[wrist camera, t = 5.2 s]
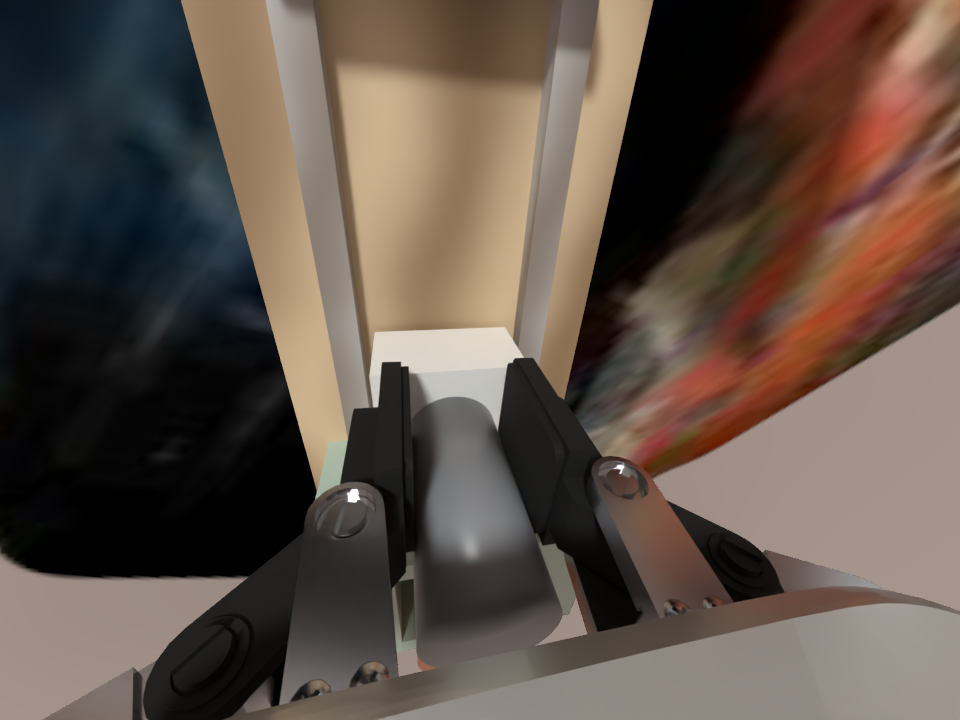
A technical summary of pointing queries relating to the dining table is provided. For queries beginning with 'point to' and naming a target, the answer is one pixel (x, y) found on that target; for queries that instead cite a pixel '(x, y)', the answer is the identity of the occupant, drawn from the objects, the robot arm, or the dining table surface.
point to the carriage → (467, 500)
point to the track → (417, 172)
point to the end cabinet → (405, 585)
